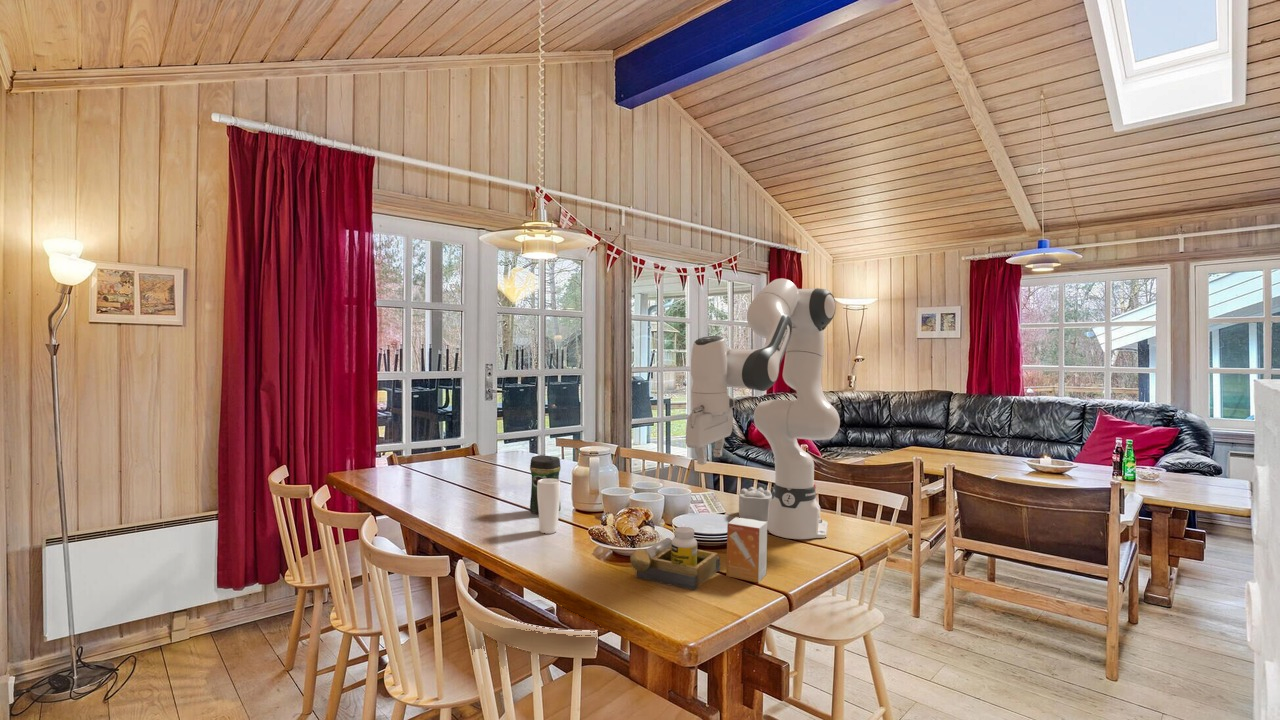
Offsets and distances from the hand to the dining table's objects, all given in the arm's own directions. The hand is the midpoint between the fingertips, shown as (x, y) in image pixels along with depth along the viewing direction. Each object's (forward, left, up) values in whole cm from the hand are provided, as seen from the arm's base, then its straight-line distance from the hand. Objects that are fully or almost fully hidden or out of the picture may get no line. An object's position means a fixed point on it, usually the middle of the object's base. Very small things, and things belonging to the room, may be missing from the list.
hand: (710, 460), depth 151 cm
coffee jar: (-21, -67, -27) cm, 75 cm away
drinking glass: (-5, -53, -27) cm, 60 cm away
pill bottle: (+6, -4, -27) cm, 28 cm away
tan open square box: (+6, -6, -27) cm, 28 cm away
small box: (-2, +9, -27) cm, 29 cm away
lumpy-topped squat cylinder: (-54, -7, -27) cm, 61 cm away
